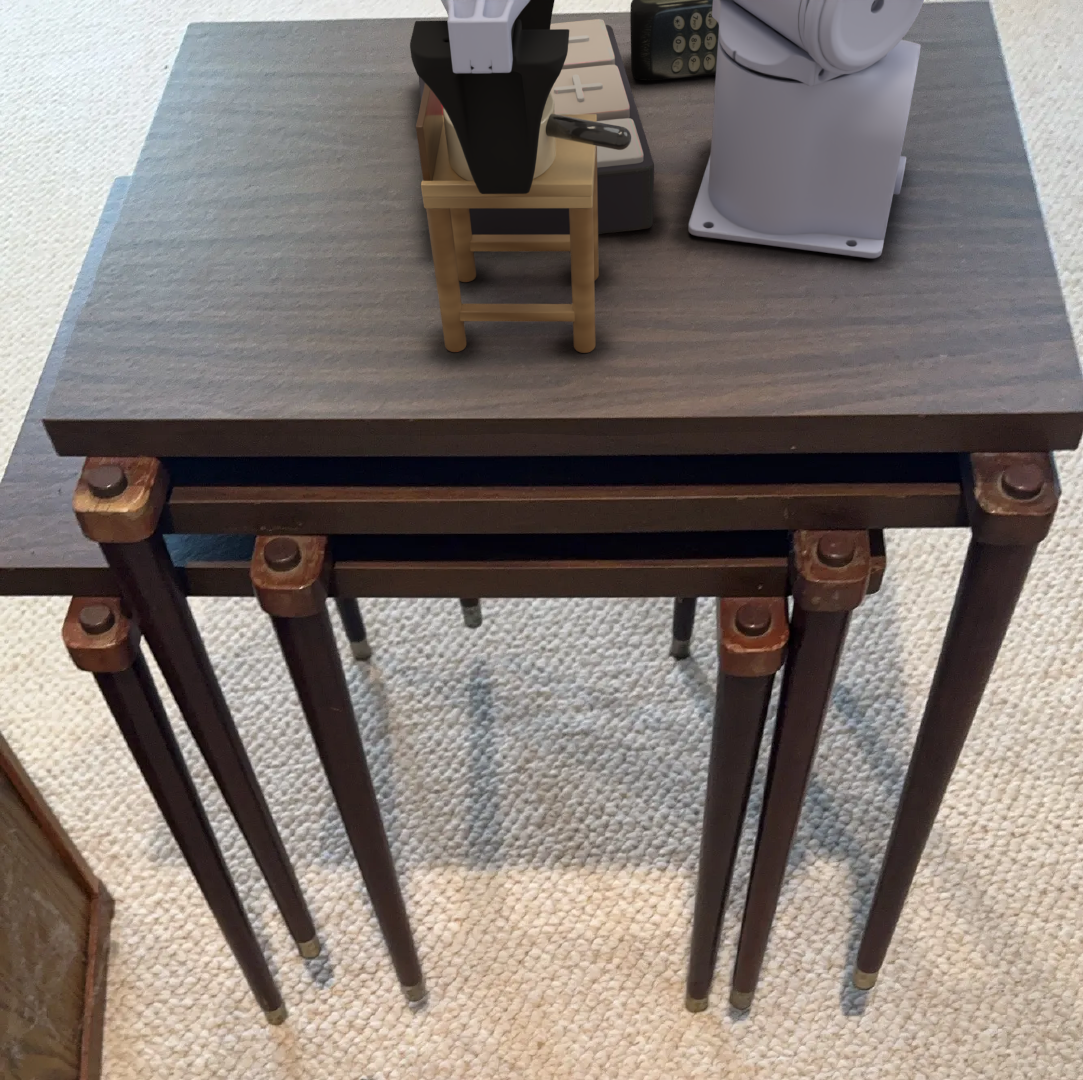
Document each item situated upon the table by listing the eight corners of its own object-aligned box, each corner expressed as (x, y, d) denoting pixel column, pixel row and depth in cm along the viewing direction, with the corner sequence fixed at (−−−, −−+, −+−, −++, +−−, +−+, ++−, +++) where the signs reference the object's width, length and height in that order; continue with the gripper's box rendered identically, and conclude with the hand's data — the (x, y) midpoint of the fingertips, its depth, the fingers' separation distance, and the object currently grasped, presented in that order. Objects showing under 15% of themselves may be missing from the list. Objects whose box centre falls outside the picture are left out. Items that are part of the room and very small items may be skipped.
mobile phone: (632, 9, 69) (909, -22, 69) (625, -18, 71) (895, -49, 71) (634, 93, 73) (896, 62, 73) (627, 64, 75) (882, 35, 75)
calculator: (611, 8, 71) (656, 152, 61) (612, 81, 74) (654, 229, 64) (413, 28, 71) (426, 176, 61) (423, 100, 74) (436, 252, 64)
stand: (599, 269, 63) (597, 125, 57) (595, 353, 59) (592, 208, 53) (457, 269, 63) (439, 126, 57) (444, 352, 59) (424, 209, 53)
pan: (430, 175, 54) (423, 123, 52) (474, 116, 56) (469, 64, 54) (611, 213, 52) (610, 160, 50) (648, 149, 54) (649, 96, 52)
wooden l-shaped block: (597, 125, 57) (596, 52, 54) (592, 208, 53) (591, 134, 50) (439, 126, 57) (430, 53, 54) (424, 209, 53) (413, 135, 51)
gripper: (396, -290, 48) (435, 46, 59) (334, -114, 39) (394, 246, 50) (583, -296, 48) (589, 44, 58) (565, -119, 39) (576, 246, 49)
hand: (511, 137), depth 54 cm, fingers open, 6 cm apart
